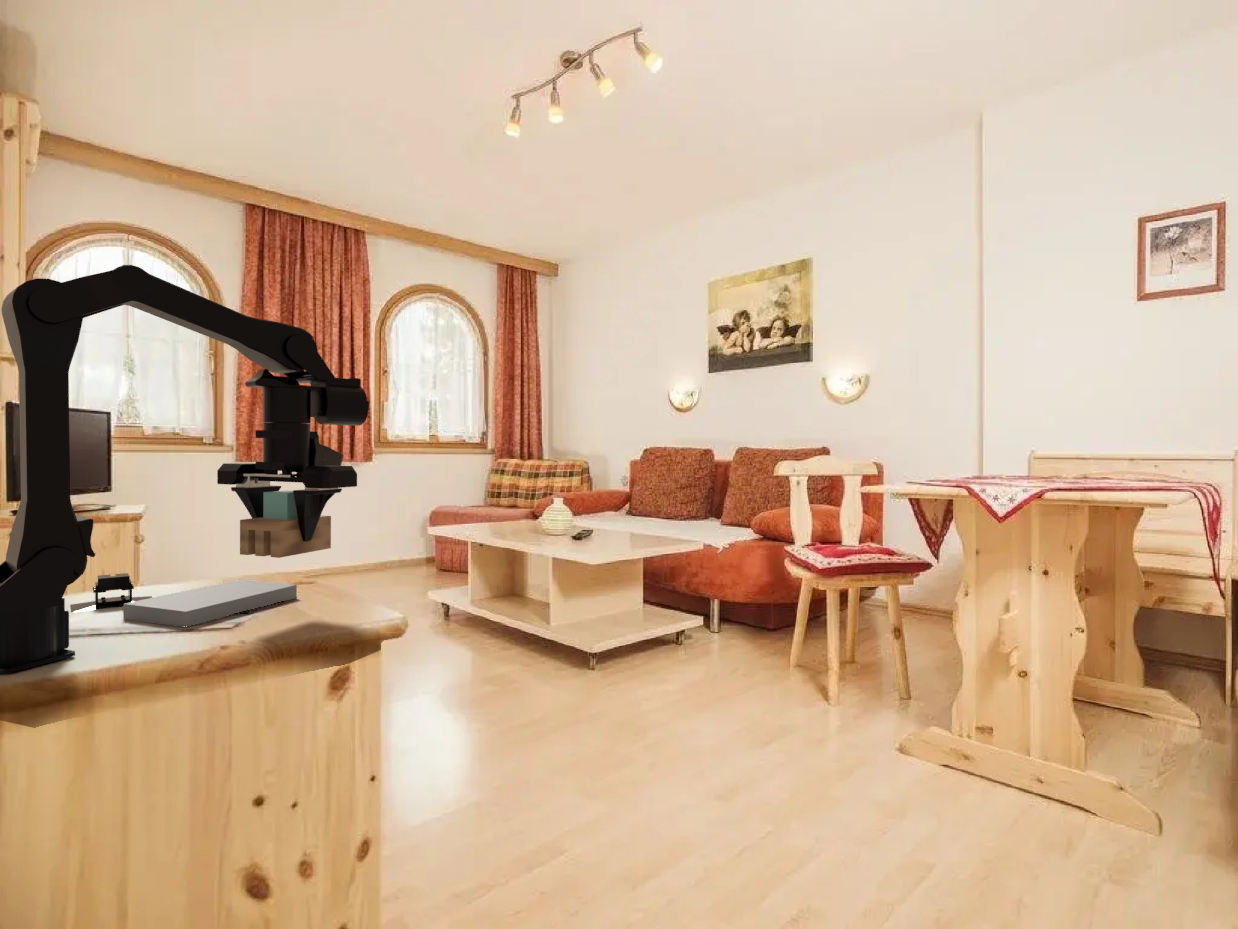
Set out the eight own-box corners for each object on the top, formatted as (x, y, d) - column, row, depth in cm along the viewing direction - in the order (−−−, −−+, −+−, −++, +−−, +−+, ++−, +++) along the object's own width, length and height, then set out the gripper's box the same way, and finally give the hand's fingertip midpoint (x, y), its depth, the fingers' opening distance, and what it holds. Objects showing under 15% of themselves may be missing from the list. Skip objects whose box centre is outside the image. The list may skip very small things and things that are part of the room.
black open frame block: (162, 597, 104) (162, 567, 104) (168, 606, 98) (168, 575, 98) (57, 608, 96) (57, 576, 96) (56, 619, 90) (56, 585, 90)
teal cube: (287, 519, 89) (287, 493, 89) (263, 518, 90) (263, 492, 90) (310, 517, 93) (310, 491, 92) (287, 515, 94) (287, 490, 94)
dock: (185, 627, 85) (185, 611, 85) (123, 619, 89) (123, 603, 89) (296, 598, 102) (296, 584, 102) (240, 591, 106) (240, 579, 106)
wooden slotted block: (279, 557, 86) (279, 522, 86) (239, 554, 88) (240, 519, 88) (330, 548, 95) (330, 515, 94) (293, 545, 97) (293, 513, 97)
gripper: (384, 425, 96) (383, 536, 96) (280, 425, 102) (280, 529, 102) (326, 422, 85) (325, 547, 85) (214, 422, 91) (214, 538, 91)
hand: (286, 539), depth 91 cm, fingers closed on wooden slotted block, 6 cm apart
